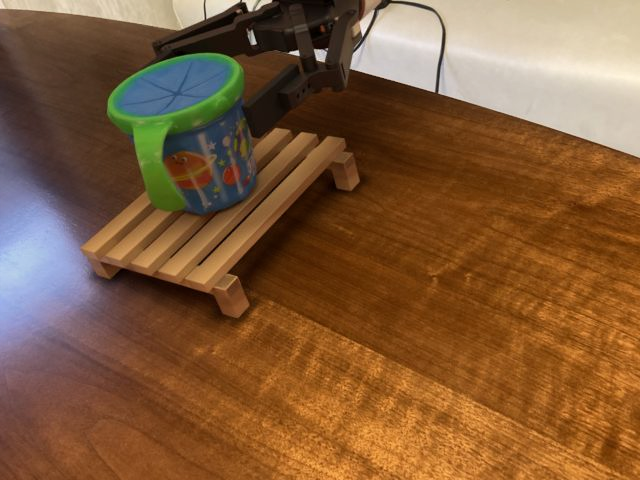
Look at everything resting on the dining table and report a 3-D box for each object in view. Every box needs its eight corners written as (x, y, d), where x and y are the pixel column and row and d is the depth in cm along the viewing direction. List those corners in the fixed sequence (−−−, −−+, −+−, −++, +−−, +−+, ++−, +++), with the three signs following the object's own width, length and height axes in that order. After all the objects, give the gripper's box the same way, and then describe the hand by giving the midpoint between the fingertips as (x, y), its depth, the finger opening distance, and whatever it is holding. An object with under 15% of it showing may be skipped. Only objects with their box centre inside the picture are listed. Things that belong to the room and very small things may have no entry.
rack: (94, 285, 67) (70, 245, 64) (233, 157, 79) (218, 118, 76) (234, 329, 60) (215, 287, 57) (365, 181, 71) (354, 139, 68)
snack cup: (200, 141, 73) (159, 39, 66) (303, 139, 70) (270, 32, 63) (120, 248, 63) (61, 141, 56) (237, 252, 59) (189, 138, 53)
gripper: (450, 42, 70) (323, 175, 58) (240, 25, 82) (98, 133, 69) (438, -42, 65) (297, 84, 53) (216, -48, 76) (58, 55, 64)
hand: (183, 112), depth 61 cm, fingers open, 13 cm apart
